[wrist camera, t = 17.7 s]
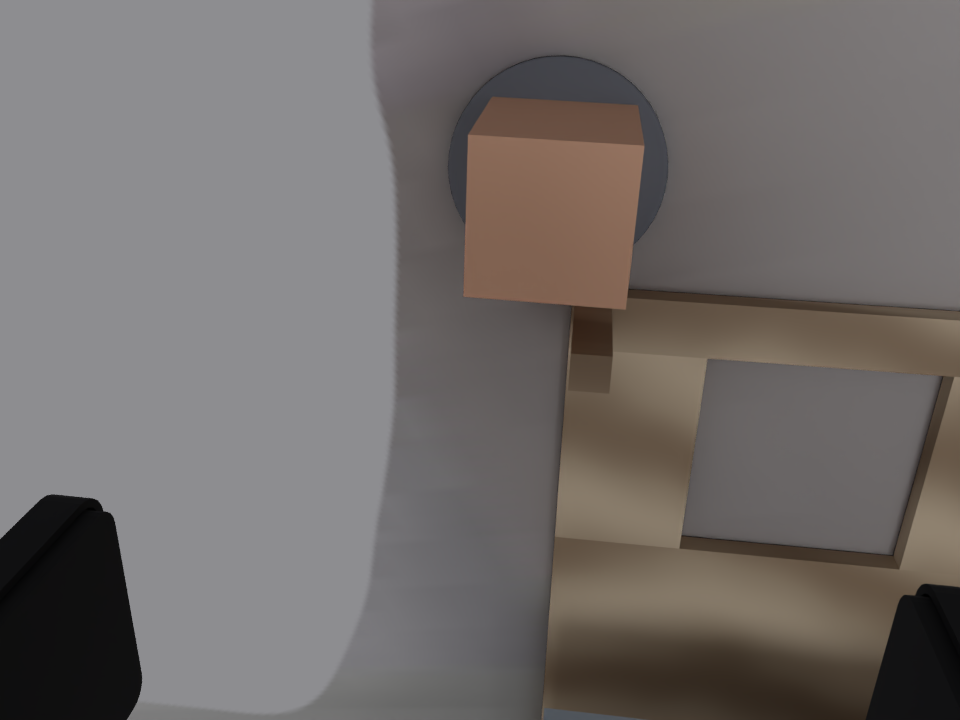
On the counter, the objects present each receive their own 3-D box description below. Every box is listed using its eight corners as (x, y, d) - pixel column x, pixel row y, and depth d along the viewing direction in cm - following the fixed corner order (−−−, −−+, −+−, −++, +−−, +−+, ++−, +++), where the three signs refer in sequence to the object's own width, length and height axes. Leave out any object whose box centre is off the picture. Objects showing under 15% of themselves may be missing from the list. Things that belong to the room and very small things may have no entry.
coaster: (654, 277, 31) (655, 281, 30) (449, 263, 31) (447, 267, 31) (679, 60, 28) (680, 62, 27) (450, 50, 28) (449, 52, 28)
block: (622, 244, 30) (625, 310, 25) (486, 234, 30) (463, 296, 25) (637, 105, 28) (644, 145, 23) (492, 96, 28) (467, 134, 23)
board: (927, 836, 40) (972, 966, 35) (536, 788, 42) (526, 905, 37) (1115, 319, 29) (1219, 401, 24) (573, 282, 31) (567, 353, 26)
